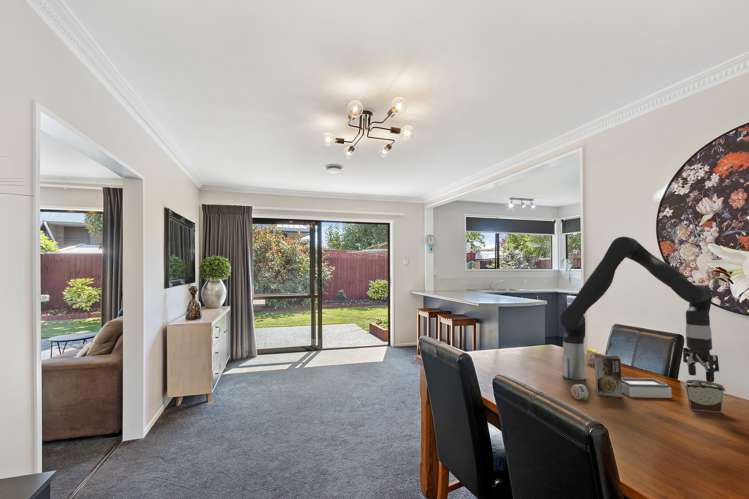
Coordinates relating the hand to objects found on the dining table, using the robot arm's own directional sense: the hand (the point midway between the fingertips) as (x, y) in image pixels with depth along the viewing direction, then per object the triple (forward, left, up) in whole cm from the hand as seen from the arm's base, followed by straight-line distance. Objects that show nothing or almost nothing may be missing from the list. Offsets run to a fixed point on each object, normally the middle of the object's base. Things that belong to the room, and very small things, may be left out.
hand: (701, 378), depth 142 cm
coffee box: (-27, +14, -12) cm, 33 cm away
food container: (0, 0, -12) cm, 12 cm away
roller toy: (-42, +7, -12) cm, 44 cm away
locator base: (-12, +16, -11) cm, 23 cm away
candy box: (-10, +56, -12) cm, 58 cm away
